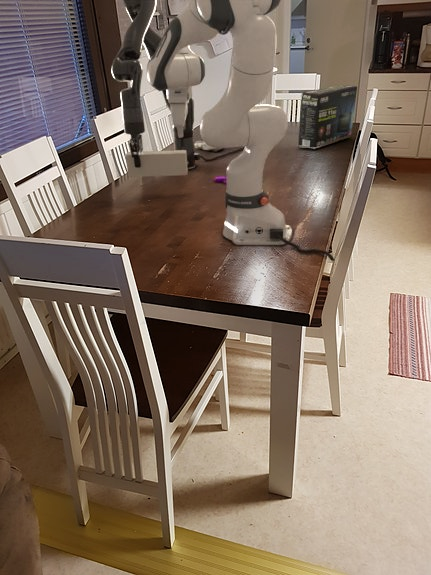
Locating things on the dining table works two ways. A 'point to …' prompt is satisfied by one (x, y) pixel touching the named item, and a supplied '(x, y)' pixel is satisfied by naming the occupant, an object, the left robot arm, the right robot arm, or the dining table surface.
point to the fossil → (205, 146)
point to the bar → (158, 163)
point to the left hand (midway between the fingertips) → (139, 165)
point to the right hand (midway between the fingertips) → (181, 133)
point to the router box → (326, 115)
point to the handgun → (220, 179)
